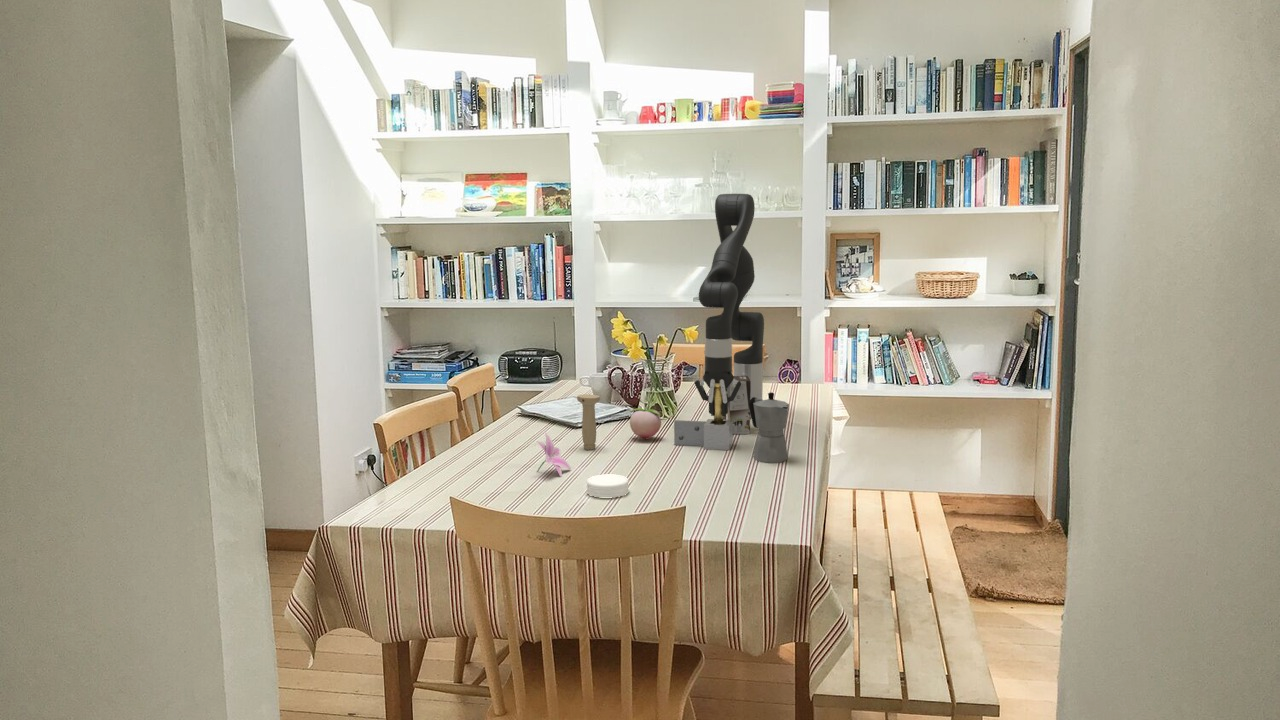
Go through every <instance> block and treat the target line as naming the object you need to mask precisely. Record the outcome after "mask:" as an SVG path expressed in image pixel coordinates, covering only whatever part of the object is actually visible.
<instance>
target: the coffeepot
mask: <svg viewBox="0 0 1280 720" xmlns="http://www.w3.org/2000/svg"><path fill="white" fill-rule="evenodd" d="M767 394H768V395H767V396H768V399H767V398H766V399H763V398H762V399H760V398H756V397H752V399H751V400H750V401H749V409H750V414H751V418H750V419H751V422H752V426H753V427H754V428H756V429H758V430H757V431H758V434H757V435H756V439H755V444H754V450H753V456H752V457H753V459H754V460H755V461H756V460H757V462H759V461H760V462H761V463H765V464H778V463H783V462H786V461H787V460H789V456H788V449H787V444H786V443H787V441H786V437H785V435H784V430H785V429H786V427H787V420H788V414H789V410H790V408H789V407H790V404H789V402H786V401H783V400H779V399H774V397H775V393H774V392H768V393H767Z"/></svg>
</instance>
